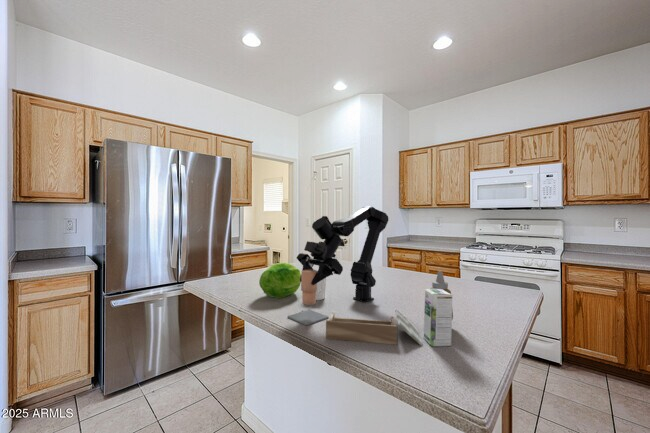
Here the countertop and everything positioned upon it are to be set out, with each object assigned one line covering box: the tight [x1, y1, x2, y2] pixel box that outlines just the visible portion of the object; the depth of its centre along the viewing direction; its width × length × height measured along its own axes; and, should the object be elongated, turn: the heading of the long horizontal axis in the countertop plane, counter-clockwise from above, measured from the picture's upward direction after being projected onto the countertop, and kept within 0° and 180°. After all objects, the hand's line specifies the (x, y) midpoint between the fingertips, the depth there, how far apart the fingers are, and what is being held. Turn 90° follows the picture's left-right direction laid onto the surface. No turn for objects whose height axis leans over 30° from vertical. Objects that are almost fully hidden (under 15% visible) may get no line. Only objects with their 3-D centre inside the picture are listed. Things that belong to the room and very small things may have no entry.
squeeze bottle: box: [429, 270, 454, 320], centre depth 92 cm, size 8×8×18 cm
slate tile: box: [287, 309, 330, 327], centre depth 98 cm, size 10×10×1 cm
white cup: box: [316, 277, 327, 301], centre depth 121 cm, size 8×8×10 cm
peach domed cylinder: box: [300, 269, 318, 306], centre depth 98 cm, size 5×5×11 cm
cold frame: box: [325, 309, 424, 346], centre depth 87 cm, size 14×27×6 cm, turn 81°
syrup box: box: [423, 288, 453, 347], centre depth 81 cm, size 6×6×14 cm
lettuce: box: [259, 262, 301, 299], centre depth 124 cm, size 15×23×16 cm
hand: (306, 282), depth 97 cm, fingers closed on peach domed cylinder, 5 cm apart
